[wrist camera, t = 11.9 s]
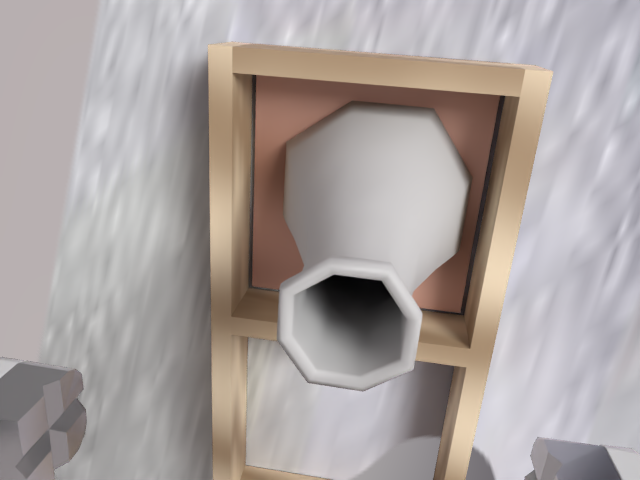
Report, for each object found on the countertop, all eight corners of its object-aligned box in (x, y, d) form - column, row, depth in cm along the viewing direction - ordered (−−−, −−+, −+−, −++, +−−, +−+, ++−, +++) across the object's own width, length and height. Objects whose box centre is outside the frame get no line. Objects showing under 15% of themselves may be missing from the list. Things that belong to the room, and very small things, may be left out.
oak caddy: (444, 511, 26) (448, 558, 24) (229, 475, 28) (213, 516, 25) (535, 65, 19) (553, 71, 16) (231, 41, 20) (207, 44, 18)
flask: (258, 121, 21) (136, 203, 11) (455, 74, 19) (499, 125, 10) (307, 293, 23) (239, 476, 14) (486, 264, 21) (544, 450, 12)
